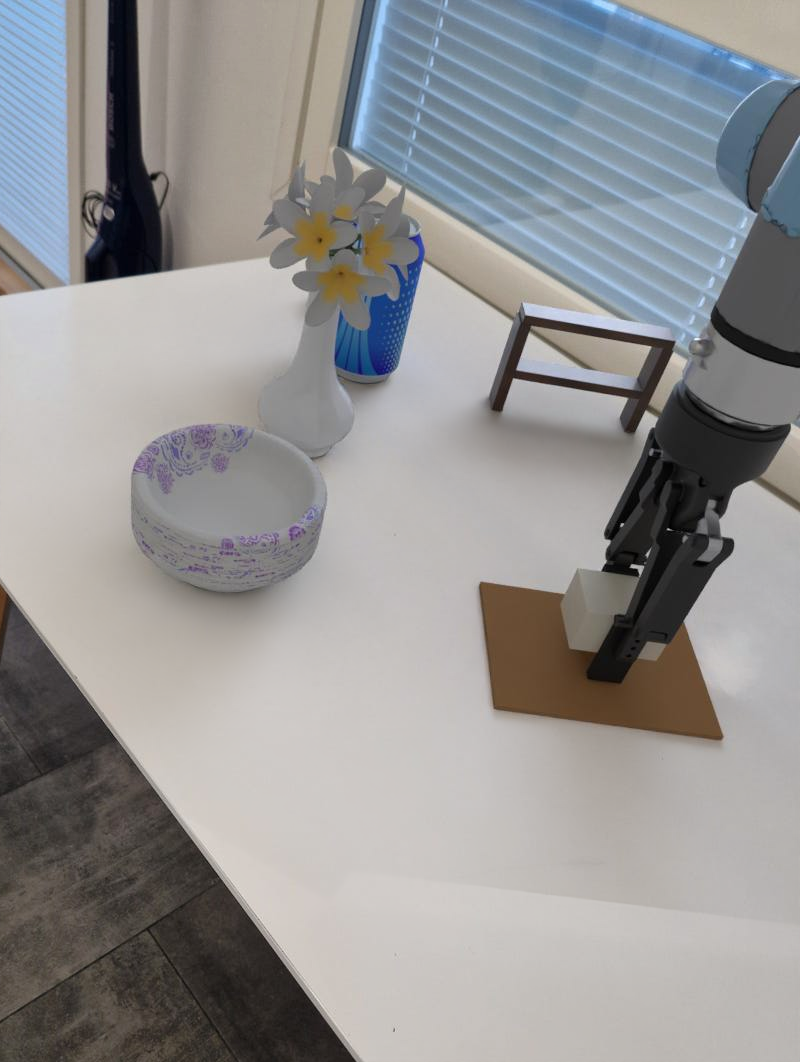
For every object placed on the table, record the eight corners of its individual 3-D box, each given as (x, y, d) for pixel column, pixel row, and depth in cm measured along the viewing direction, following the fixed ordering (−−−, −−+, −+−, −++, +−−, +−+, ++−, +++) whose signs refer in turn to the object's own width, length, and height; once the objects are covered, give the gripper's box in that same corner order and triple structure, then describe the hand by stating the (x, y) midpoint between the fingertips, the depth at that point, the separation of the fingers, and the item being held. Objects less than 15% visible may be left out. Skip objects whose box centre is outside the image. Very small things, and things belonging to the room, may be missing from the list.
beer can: (341, 339, 104) (367, 196, 93) (407, 365, 102) (442, 222, 91) (309, 368, 98) (333, 219, 87) (378, 395, 96) (412, 247, 85)
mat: (678, 614, 79) (680, 611, 78) (721, 740, 69) (724, 737, 69) (479, 584, 77) (480, 581, 77) (494, 709, 67) (495, 705, 67)
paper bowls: (252, 647, 68) (264, 570, 62) (91, 562, 72) (88, 482, 66) (345, 546, 78) (362, 471, 72) (199, 476, 82) (205, 399, 76)
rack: (629, 418, 102) (671, 328, 94) (634, 433, 100) (678, 341, 92) (489, 395, 100) (519, 301, 93) (491, 409, 98) (523, 314, 90)
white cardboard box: (642, 616, 73) (663, 580, 70) (656, 661, 69) (678, 625, 67) (559, 604, 72) (577, 567, 70) (569, 648, 69) (588, 611, 66)
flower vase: (257, 504, 80) (295, 219, 62) (227, 392, 92) (251, 126, 74) (394, 502, 84) (467, 232, 66) (348, 394, 96) (399, 141, 78)
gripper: (648, 322, 62) (538, 572, 79) (717, 474, 49) (569, 733, 66) (751, 340, 63) (620, 584, 79) (845, 494, 50) (666, 746, 67)
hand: (597, 651), depth 73 cm, fingers closed on white cardboard box, 5 cm apart
